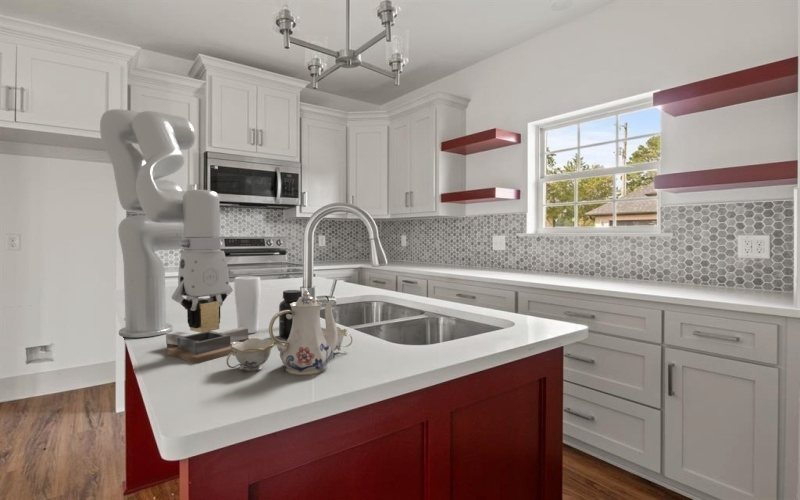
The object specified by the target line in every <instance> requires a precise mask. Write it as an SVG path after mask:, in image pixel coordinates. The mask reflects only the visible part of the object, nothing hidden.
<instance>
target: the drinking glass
mask: <svg viewBox="0 0 800 500" xmlns="http://www.w3.org/2000/svg"><path fill="white" fill-rule="evenodd" d="M261 282H262V281H261V276H253V275H249V276H247V275H246V276H245V275H244V276H236V277H234V282H233V284H234V287H233V288H234V291H233V292H234V301H235V312H236V319H237V328H241V327H243V328H248V335H250V334H254V333H255V334H256V333H257V332H259V320H260V308H261V307H260V306H261V293H262V291H261V290H262V283H261Z"/></svg>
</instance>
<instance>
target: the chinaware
mask: <svg viewBox="0 0 800 500" xmlns="http://www.w3.org/2000/svg"><path fill="white" fill-rule="evenodd" d="M310 295H311V293H309V291H308V290H307V289H305V290H304V291H303V292H302V297H300V298H299V299H298V300H297V302H293V303H291V304H290V305H291V308H292V311H291V310H284V311H280V312H279V311H278V312H277V313H275V314H274V315H273V316H272V317H271V319H270V321H269V324H268V333H269V336H270V338H266V339H264V340H263V339H262V340H261V339H260V338H255V337H252V338H249V339H247V340H246V341H244V342H238V341H237V342H231V344H232V345H231V346H232V347H231V349H232V350H233V351H234V352H231V353H230V354H229V355H226V356H227V357H226V360H225V363H226V366H227V367H228V368H230V369H235V368H237V367H239V368H238V369H239V370H240V371H242V370H244V371H248V372H254V371H259V370H260V369H262V368H263V366H262V365H264V364H265V363H266V362H267V361H268V359H269V358H270V355H271V352H272V349H273V347H274V345H275V343H277V345H276V348H277V351H278V352H279V358H280V360H281V362H282V364H283V366H285V367H286V368H285V372H286V373H288V374H292V375H297V376H308V375H315V374H319V373H322V372H324V371H326V370H327V369H328V364H329V363H330V362H331V361H332V360H333V358H334V355H336V352H335V351H336V350H338V351H341V350H342V349H341V347H344V348H348V347H350V346H351V345H352V343H353V337H352V335H351V333H348V329H346V328H344V329H342V328H340V327H339V326H337V325H336V321H335V318H334V315H333V314H334V313H333V310H332V307H333V305H334V302H335V301H336V300H335V299H330V300H328V302H326V304H325V308H324V319H325V328H324V327H321V326H322V325H321V309H322V305H323V303H322V302H321V301H316V300H315V297H313V296H310ZM288 312H291V313H292V315H291V314H287V315H286V317H287V319H291V318H292V317H293V322H292V328H291V332H290V335H289V338H288V339H287V340H281V339H278V338H277V337H276V336H275V334H274V331H273V328H274V324H275V322H276V320H277V319H278V318H279V316H280V315H282V314H284V313H288ZM347 335H348V336H350V339H351V340H350V343H349V344H347V345H343V344H342V343H343V340H344V336H345V337H348V336H347ZM274 342H275V343H274ZM231 356H233V357H234V356H235V358H236V361H237V362H238V364H236V365H234V366H231V365H230V364H229V359H230V357H231Z"/></svg>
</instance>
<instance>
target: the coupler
mask: <svg viewBox="0 0 800 500" xmlns="http://www.w3.org/2000/svg"><path fill="white" fill-rule="evenodd" d="M197 310H199V328H192V327H189V330H190V331H193V332H197V333H203V332H207V331H216V330H220V324H219V301H214V298H210V297H207V298H201V297H199V298H198V303H197Z"/></svg>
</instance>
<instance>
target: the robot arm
mask: <svg viewBox="0 0 800 500" xmlns="http://www.w3.org/2000/svg"><path fill="white" fill-rule="evenodd" d="M99 133H100V138H101V142H102V145H103V147H104V149H105V152H106V154H107V156H108V158H109V160H110V162H111V165H112V170H113V173H114V179H115V180H114V181H115V186H116V191H117V196H118V201H119V204H120V205H121V207H122V209H123V210H125V211H126V212H130V213H140V214H138V215H130V216H127V217H125V218H123V219H122V220H121V221H120V222H119V224H118V230H117V233H118V239H119V243H120V247H121V253H122V262H123V282H124V283H123V285H124V314H125V315H124V316H125V317H124V318H123V320H124V323H125V327H122V328H121V329H119V330H118V335H119V336H120V337H123V338H130V339H131V338H132V339H134V338H148V337H156V336H160V335H164V334H165V335H166V333H169V332H173V331H172V330H173V328H174V327H173V325H172V324H170V323H167V303H166V302H167V301H166V299H167V298H166V297H167V296H166V295H167V294H166V269H165V268H166V267H165V264H164V262H163V261H162V260H161V258H160V257H159V256H158V254H157V253H156V252H157V251H174V250H175V251H176V250H182V249H183V251H182V252H181V254H180V258H179V263H178V264H179V265H178V276H177V278H178V279H177V283H178V286H177V287H176V289H175V290H174V292H173V293H172V295H171V300H174V301H175V302H177V303H179V305H181V306H182V307H183V308H184V310H186V313H187V317H186V318H187V324H188V327H189V328H190V327H192V328H199V310H197V303H198V298H201V297H208V298H214V301H219V325H220V324H221V307H222V306H223V303H224V302H225V301H226V299H227V297H228V296H229V295H231V293H232V292H234V291H233V288H232V287H231V285H230V278H229V268H228V262H227V261H228V260H227V257H226V253H225V251H224V250H221V215H220V210H221V209H220V208H221V207H220V196H219V194H218V193H217V192H216V191H214V190H209V189H190V190H185V191H184V190H183V189H182V187H181V186H180V185H179V184H178V183H177V182H175V181H173V180H168V179H167V180H166V179H161V178H164V177H167V176H171V175H173V174H175V173H177V172H178V171H179V170H181V169H182V167H183V166H184V164H185V156H184V154H183V152H182V150H183V151H184V150H190V149H191V148H192V147H194V146H193V145H194V144H195V142H196V131H195V128H194V126H193V124H192V123H191V122H190V120H189V119H187V118H185V117H182V116H178V115H174V114H169V113H164V112H158V111H152V110H147V111H141V112H140V111H135V110H128V109H121V108H120V109H119V108H118V109H117V108H114V109H109V110H106V111H105V112H104V113H102V116H101V117H100V121H99ZM133 144H135V145H138V146H139V149H140V150H138V148H136V147H135V146H134V145H133ZM183 296H184V297H183ZM185 297H186V298H185Z"/></svg>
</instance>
